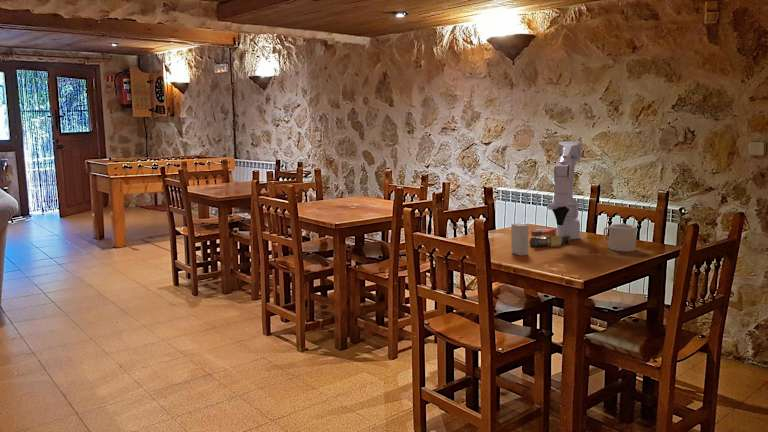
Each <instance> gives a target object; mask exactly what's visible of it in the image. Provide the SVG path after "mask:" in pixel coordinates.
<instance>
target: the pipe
mask: <svg viewBox="0 0 768 432" xmlns="http://www.w3.org/2000/svg"><path fill="white" fill-rule="evenodd" d="M561 237H562V244H561V245H571V242H572V239H571V238H570V236H569V235H568V234H564V235H563V236H561ZM547 245H548V239H547V238H543V237H534V236H531V237H530V239H529V246H530V247H532V248H534V249H535V248H539V247H548V246H547Z"/></svg>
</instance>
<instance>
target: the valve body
mask: <svg viewBox="0 0 768 432" xmlns="http://www.w3.org/2000/svg"><path fill="white" fill-rule="evenodd" d="M542 238H547V239H548V245H547V246H546V247H560V246H561V245H563V244H562V237H561V235H558V233H556V234H555V235H544V236H542Z"/></svg>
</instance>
